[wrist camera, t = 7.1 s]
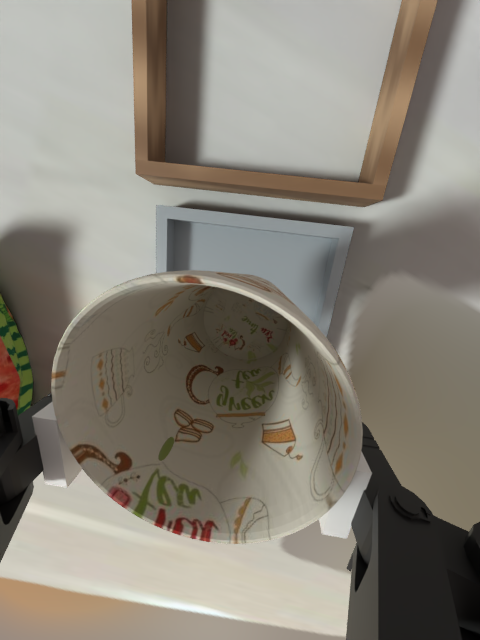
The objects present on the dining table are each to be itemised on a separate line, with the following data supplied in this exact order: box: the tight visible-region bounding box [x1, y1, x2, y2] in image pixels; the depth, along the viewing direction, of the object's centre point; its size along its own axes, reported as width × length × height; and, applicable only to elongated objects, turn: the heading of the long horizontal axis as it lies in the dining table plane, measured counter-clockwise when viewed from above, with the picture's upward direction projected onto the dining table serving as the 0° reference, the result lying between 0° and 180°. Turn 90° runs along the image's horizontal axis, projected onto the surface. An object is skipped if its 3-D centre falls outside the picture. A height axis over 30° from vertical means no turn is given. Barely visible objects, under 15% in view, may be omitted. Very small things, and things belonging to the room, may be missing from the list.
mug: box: [51, 270, 363, 544], centre depth 12 cm, size 8×13×10 cm, turn 151°
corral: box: [132, 0, 438, 207], centre depth 17 cm, size 18×20×4 cm
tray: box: [156, 205, 354, 338], centre depth 24 cm, size 18×17×2 cm
